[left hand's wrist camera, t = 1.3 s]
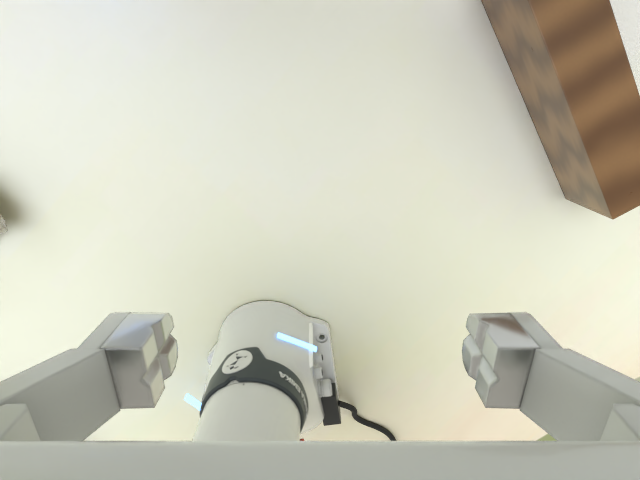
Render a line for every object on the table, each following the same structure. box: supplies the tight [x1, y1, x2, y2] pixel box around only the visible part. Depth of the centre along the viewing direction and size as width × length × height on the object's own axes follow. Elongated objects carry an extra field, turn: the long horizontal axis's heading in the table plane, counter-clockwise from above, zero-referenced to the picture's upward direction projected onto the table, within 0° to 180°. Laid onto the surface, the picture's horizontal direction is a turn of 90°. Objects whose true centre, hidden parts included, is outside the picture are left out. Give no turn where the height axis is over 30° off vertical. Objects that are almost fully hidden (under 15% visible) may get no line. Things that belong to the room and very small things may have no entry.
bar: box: [481, 0, 640, 219], centre depth 39 cm, size 27×6×8 cm, turn 33°
